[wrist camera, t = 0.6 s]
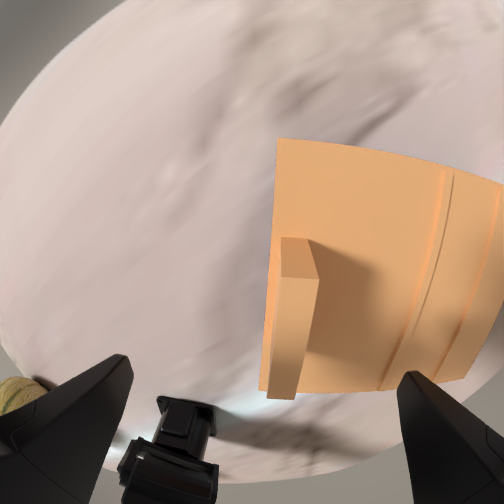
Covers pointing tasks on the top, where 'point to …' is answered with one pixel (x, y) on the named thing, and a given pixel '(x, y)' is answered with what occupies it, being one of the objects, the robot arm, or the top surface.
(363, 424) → the top surface
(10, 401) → the cantaloupe
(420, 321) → the lid
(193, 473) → the robot arm
